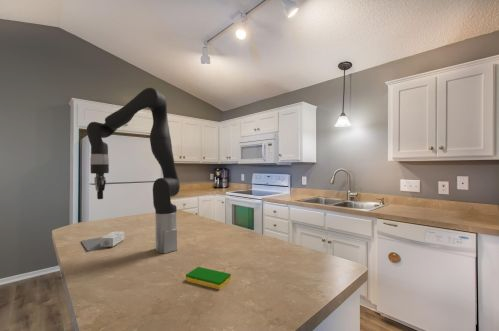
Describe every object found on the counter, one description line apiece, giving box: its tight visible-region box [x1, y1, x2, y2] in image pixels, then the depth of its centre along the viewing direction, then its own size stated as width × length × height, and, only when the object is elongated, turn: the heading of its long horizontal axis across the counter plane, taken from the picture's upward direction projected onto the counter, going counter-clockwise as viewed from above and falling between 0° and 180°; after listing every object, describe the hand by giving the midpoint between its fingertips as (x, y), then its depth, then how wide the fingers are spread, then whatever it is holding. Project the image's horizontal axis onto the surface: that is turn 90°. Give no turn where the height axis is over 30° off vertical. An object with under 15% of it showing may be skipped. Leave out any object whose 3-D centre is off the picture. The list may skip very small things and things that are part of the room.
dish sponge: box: [185, 266, 232, 290], centre depth 79 cm, size 7×14×2 cm, turn 65°
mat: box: [80, 236, 118, 252], centre depth 117 cm, size 19×12×1 cm, turn 43°
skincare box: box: [100, 230, 125, 248], centre depth 116 cm, size 6×4×12 cm
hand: (100, 199), depth 114 cm, fingers closed
